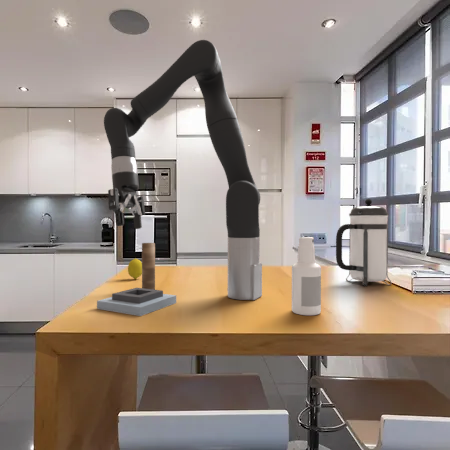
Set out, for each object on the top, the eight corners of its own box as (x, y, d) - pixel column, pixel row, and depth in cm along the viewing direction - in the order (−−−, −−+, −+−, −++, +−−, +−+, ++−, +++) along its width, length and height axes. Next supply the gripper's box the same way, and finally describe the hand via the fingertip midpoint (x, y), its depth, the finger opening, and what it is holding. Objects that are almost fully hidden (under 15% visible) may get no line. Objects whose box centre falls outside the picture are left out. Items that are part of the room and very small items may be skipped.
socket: (176, 302, 89) (176, 289, 89) (140, 316, 76) (140, 300, 76) (136, 297, 95) (136, 285, 95) (97, 308, 82) (97, 294, 82)
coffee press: (349, 277, 129) (349, 200, 129) (394, 282, 120) (395, 199, 119) (335, 284, 115) (335, 198, 115) (385, 290, 105) (386, 196, 105)
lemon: (138, 280, 122) (138, 259, 122) (125, 280, 123) (125, 258, 123) (145, 278, 127) (145, 257, 127) (132, 277, 128) (132, 257, 128)
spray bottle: (315, 317, 75) (316, 238, 75) (287, 313, 79) (287, 237, 79) (324, 310, 81) (324, 237, 81) (297, 306, 85) (297, 236, 84)
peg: (157, 290, 105) (157, 242, 105) (149, 292, 102) (149, 243, 101) (147, 289, 107) (147, 242, 107) (139, 291, 103) (139, 243, 103)
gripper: (120, 165, 92) (125, 222, 89) (148, 177, 105) (153, 227, 103) (98, 171, 94) (102, 227, 92) (128, 182, 108) (133, 231, 105)
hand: (129, 227), depth 97 cm, fingers open, 8 cm apart
